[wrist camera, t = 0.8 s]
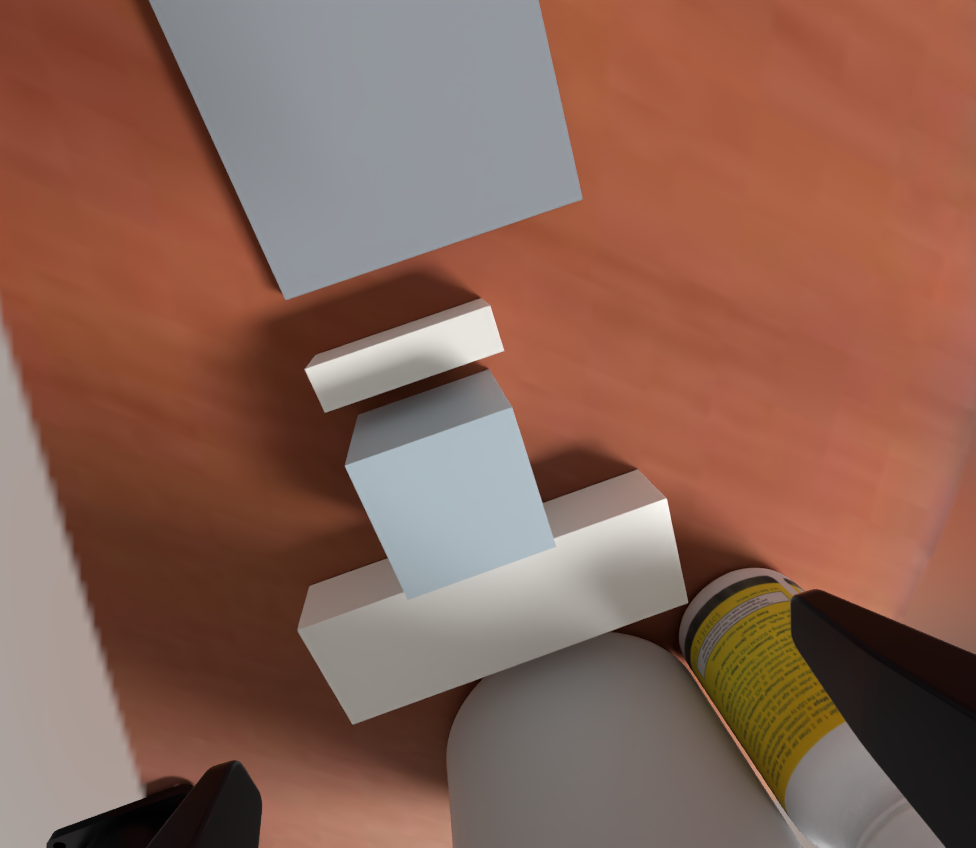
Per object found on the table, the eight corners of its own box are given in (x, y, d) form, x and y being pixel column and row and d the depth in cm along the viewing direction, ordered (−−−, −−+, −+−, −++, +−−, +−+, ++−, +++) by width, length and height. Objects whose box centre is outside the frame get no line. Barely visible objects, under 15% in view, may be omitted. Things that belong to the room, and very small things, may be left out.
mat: (289, 297, 17) (285, 300, 17) (118, -81, 13) (106, -94, 13) (577, 200, 17) (582, 199, 17) (486, -197, 14) (489, -215, 13)
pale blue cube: (407, 525, 21) (407, 600, 17) (358, 414, 19) (344, 465, 15) (526, 483, 21) (555, 546, 17) (488, 368, 19) (511, 407, 15)
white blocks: (358, 674, 23) (352, 724, 20) (203, 393, 18) (172, 417, 15) (660, 565, 23) (688, 602, 21) (590, 260, 18) (617, 264, 16)
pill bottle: (655, 663, 25) (827, 962, 15) (702, 554, 23) (937, 808, 13) (764, 674, 26) (992, 954, 16) (817, 571, 25) (1113, 814, 14)
